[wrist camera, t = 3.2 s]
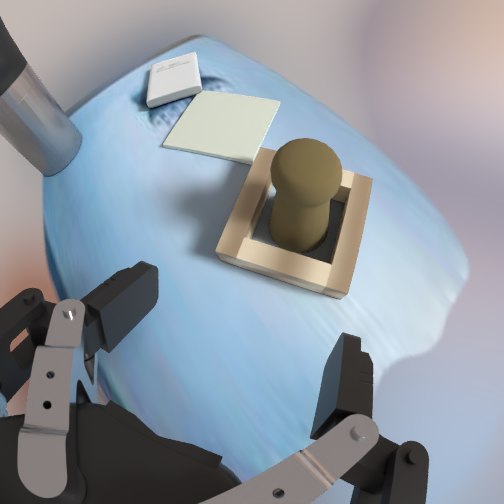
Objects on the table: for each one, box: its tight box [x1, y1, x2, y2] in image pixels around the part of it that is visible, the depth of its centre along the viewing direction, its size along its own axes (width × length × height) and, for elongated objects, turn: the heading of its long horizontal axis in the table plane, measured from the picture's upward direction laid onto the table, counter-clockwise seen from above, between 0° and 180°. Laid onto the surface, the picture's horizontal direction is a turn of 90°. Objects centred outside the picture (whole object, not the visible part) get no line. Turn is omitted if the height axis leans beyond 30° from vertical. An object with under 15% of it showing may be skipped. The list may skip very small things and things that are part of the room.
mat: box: [163, 90, 280, 165], centre depth 33 cm, size 12×11×1 cm
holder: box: [215, 147, 373, 299], centre depth 27 cm, size 12×12×3 cm
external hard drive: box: [146, 52, 202, 108], centre depth 37 cm, size 2×8×12 cm
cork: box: [269, 138, 342, 253], centre depth 23 cm, size 6×6×11 cm
